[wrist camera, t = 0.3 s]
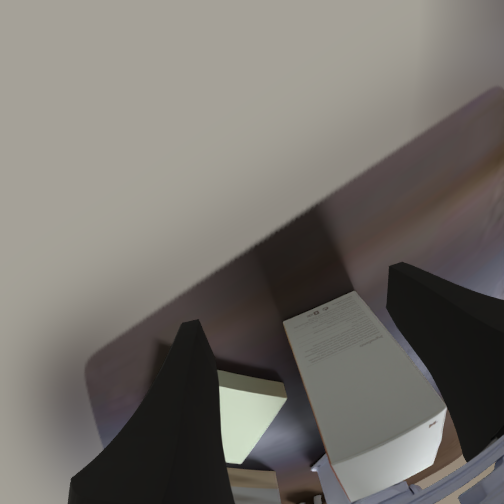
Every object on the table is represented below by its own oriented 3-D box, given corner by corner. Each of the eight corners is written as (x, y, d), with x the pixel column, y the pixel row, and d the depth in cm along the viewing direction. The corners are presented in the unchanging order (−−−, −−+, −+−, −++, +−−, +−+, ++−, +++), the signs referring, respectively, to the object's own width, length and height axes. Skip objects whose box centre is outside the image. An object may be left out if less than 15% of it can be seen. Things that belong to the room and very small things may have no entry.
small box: (280, 320, 22) (328, 466, 10) (355, 288, 22) (451, 404, 10) (308, 384, 25) (350, 505, 13) (370, 357, 25) (436, 463, 13)
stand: (239, 450, 28) (240, 464, 26) (151, 433, 26) (149, 447, 24) (283, 382, 25) (287, 398, 23) (172, 357, 23) (169, 373, 21)
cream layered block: (262, 484, 32) (267, 517, 26) (213, 479, 31) (215, 515, 25) (274, 470, 31) (281, 507, 25) (223, 466, 29) (225, 505, 24)
